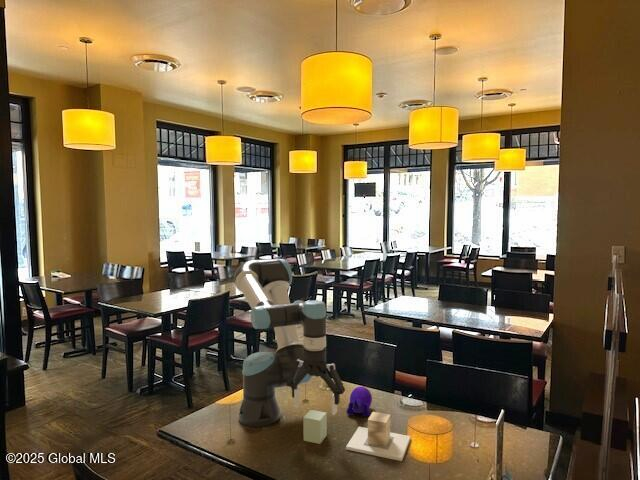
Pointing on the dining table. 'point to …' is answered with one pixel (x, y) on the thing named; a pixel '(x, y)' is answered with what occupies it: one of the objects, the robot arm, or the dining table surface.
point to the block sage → (315, 426)
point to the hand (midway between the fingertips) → (315, 410)
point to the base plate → (391, 451)
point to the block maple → (379, 429)
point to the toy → (360, 401)
